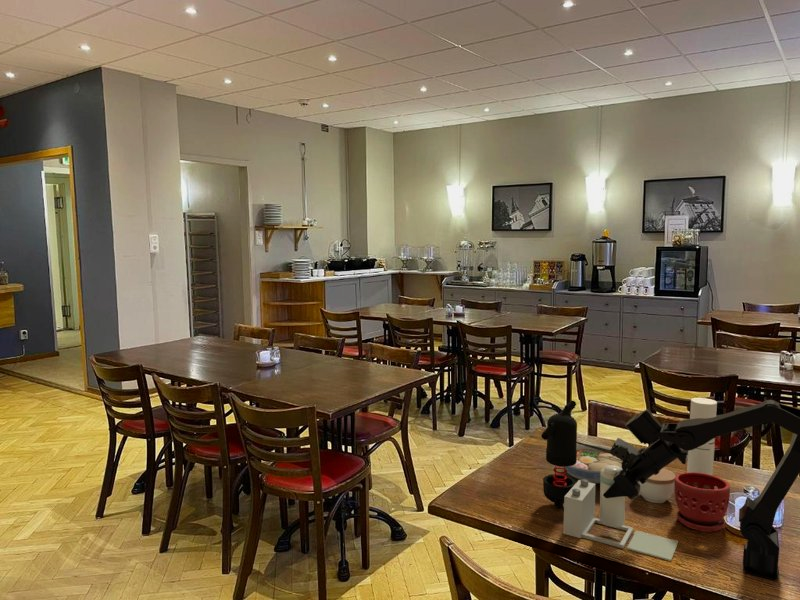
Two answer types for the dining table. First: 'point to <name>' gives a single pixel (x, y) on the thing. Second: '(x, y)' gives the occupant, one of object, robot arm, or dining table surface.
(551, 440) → the black spring figurine
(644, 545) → the mat
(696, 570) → the dining table surface
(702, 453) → the cylindrical container
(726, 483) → the plant pot
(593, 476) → the ramen bowl
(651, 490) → the lidded jar
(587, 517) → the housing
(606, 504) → the cartridge
